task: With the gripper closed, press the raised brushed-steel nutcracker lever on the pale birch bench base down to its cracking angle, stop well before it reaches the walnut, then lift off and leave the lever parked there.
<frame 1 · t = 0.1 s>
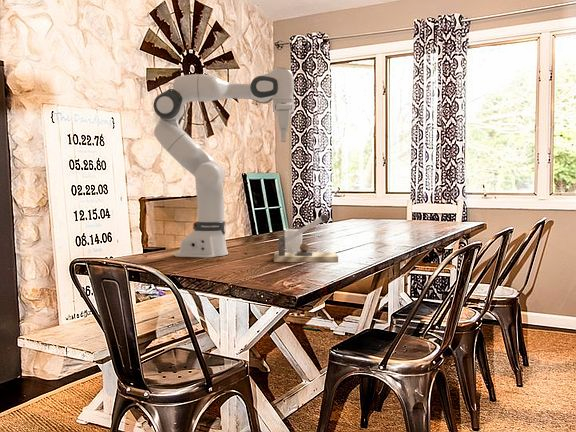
hand: (283, 141, 231), 48 cm above the table, fingers open, 8 cm apart
lever: (303, 229, 220), point 12 cm above the table, hinge at 30.0°
nutcracker base: (305, 259, 221), on the table
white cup: (293, 253, 240), on the table
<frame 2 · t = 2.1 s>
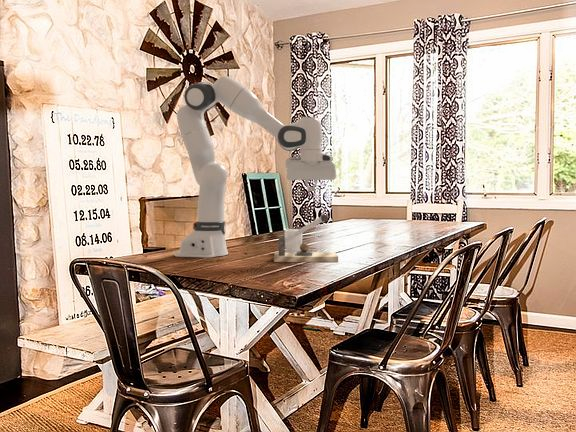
hand: (311, 191, 226), 27 cm above the table, fingers closed
nothing on the table moved.
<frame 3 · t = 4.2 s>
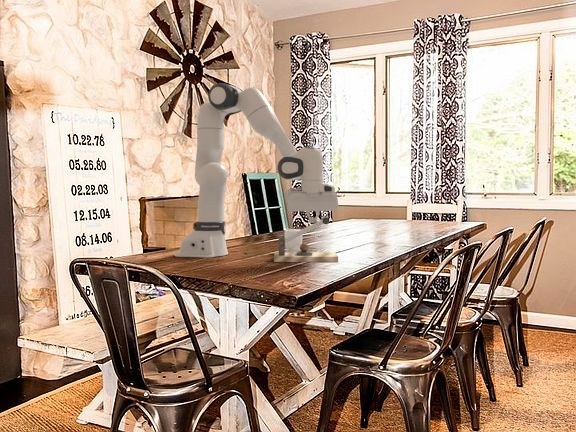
hand: (313, 222, 220), 15 cm above the table, fingers closed
lever: (303, 231, 220), point 11 cm above the table, hinge at 26.3°, touching gripper
everything else where it was.
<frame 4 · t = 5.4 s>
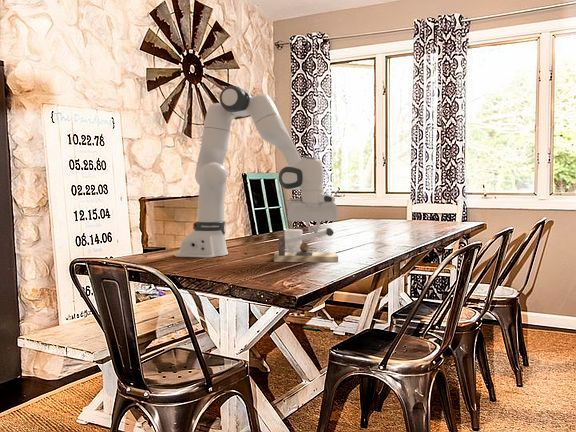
hand: (313, 232, 220), 11 cm above the table, fingers closed
lever: (305, 236, 220), point 9 cm above the table, hinge at 12.2°, touching gripper
everything else where it was.
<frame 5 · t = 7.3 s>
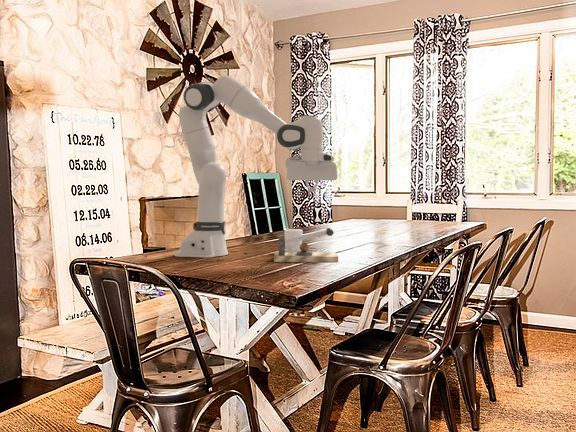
hand: (311, 191, 219), 27 cm above the table, fingers closed
lever: (305, 236, 220), point 9 cm above the table, hinge at 12.2°
everything else where it was.
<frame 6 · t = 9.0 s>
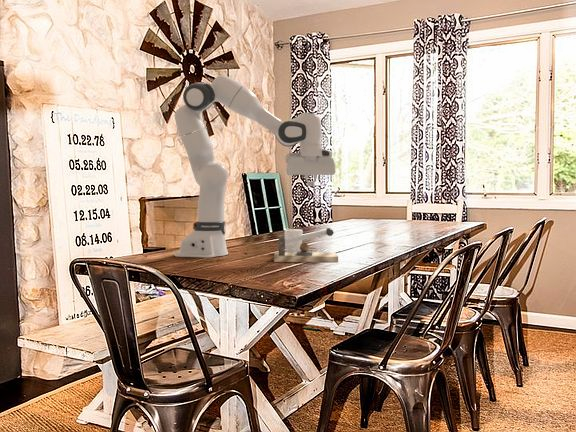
hand: (310, 186, 229), 29 cm above the table, fingers closed
nothing on the table moved.
at the end: lever at +12° (first picture: +30°); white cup moved 0.2 cm from its start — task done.
